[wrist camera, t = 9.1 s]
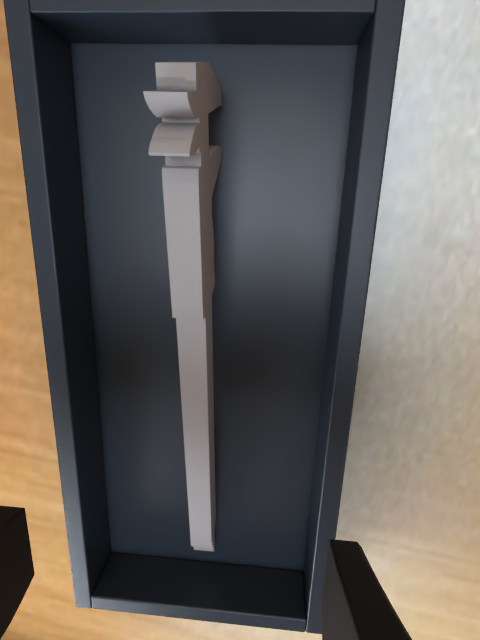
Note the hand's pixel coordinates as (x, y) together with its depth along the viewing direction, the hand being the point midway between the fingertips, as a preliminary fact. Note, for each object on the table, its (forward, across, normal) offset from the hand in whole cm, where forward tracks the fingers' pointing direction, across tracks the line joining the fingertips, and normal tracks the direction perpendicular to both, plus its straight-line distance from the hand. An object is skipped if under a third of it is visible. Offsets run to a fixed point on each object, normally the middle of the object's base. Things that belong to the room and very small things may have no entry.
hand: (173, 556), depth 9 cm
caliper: (+9, +1, -1) cm, 9 cm away
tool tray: (+9, +1, -2) cm, 9 cm away
